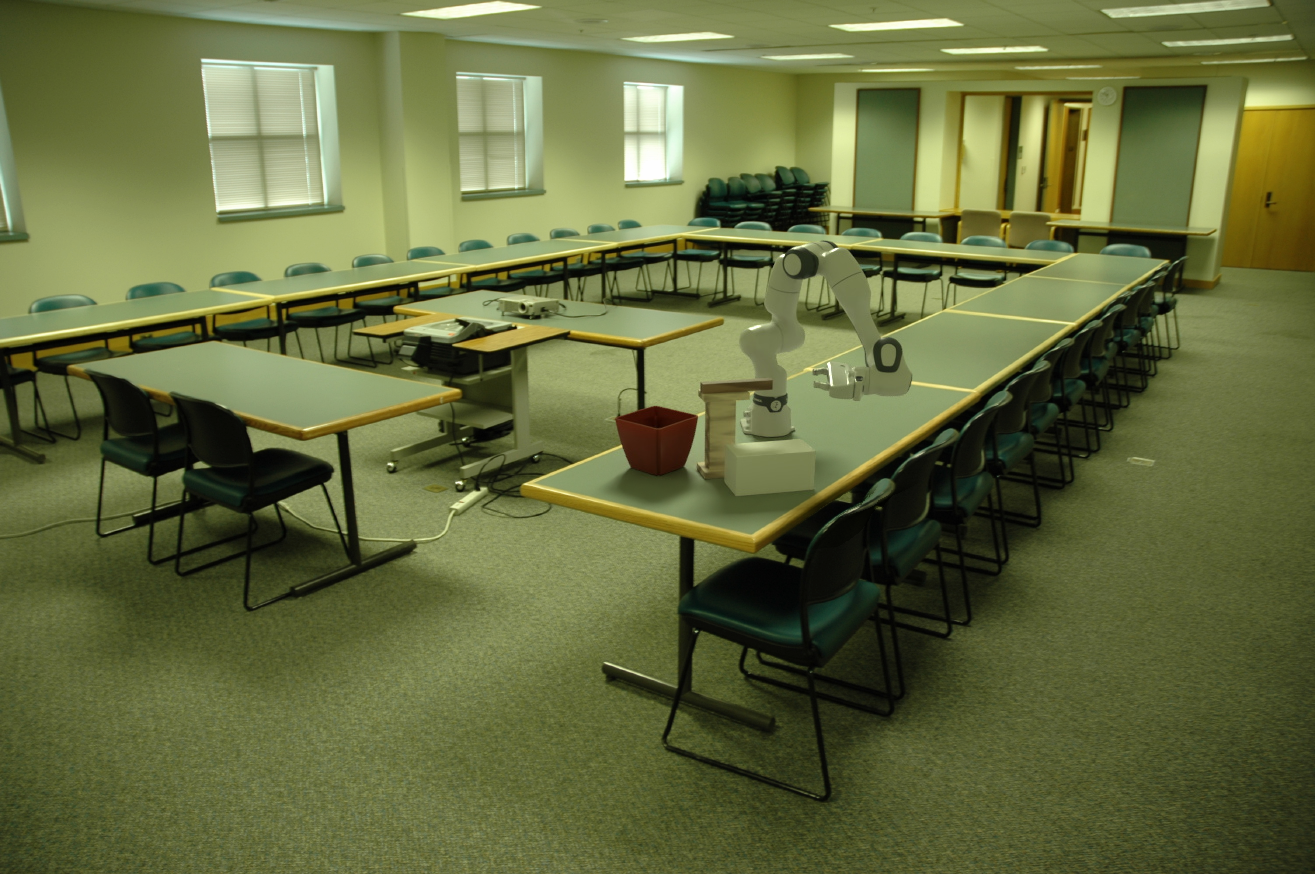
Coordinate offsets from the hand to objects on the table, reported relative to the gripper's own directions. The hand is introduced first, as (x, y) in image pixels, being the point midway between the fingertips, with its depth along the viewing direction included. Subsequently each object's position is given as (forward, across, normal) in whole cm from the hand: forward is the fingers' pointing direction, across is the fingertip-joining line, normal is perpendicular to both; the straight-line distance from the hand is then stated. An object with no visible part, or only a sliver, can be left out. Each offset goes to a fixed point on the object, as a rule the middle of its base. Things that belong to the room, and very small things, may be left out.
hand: (813, 378), depth 287 cm
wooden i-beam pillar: (+26, +17, +26) cm, 41 cm away
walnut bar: (+23, +11, +1) cm, 26 cm away
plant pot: (+47, +14, +28) cm, 57 cm away
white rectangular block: (+12, +27, +24) cm, 38 cm away
